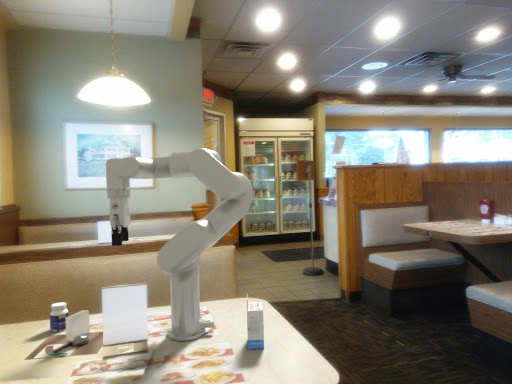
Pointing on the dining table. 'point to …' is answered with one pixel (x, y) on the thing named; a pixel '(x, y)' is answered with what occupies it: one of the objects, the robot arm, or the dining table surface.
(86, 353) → the brown flat square slab
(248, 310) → the ink box
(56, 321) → the pill bottle
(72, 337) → the white piece
